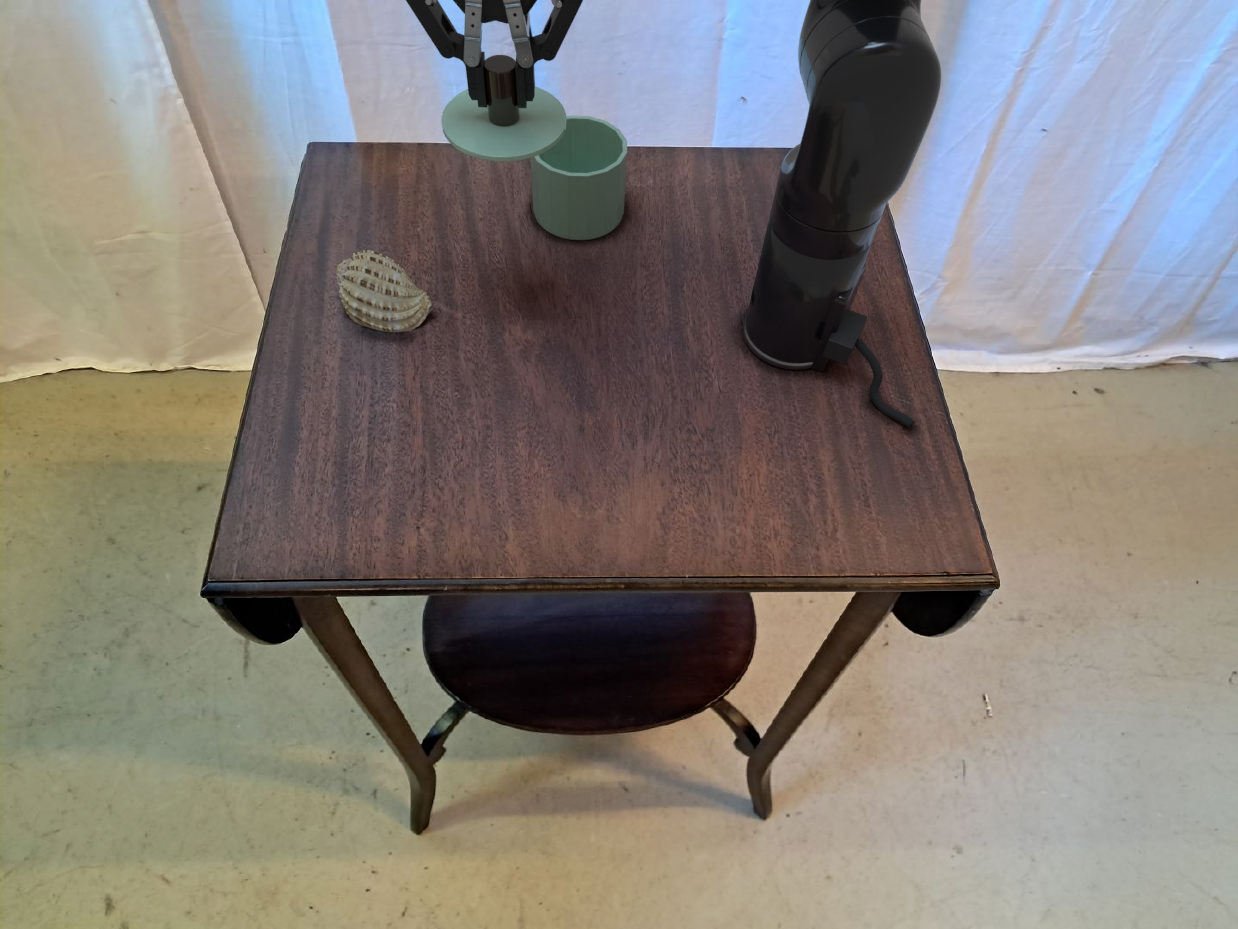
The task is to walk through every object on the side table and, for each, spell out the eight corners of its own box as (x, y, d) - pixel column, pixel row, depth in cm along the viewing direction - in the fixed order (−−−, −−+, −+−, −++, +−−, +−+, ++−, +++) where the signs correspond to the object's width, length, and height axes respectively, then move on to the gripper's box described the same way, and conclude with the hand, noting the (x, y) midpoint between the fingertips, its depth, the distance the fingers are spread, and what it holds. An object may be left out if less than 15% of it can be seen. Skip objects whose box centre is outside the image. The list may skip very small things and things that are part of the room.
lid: (567, 93, 78) (566, 28, 73) (566, 169, 72) (565, 103, 67) (448, 91, 77) (439, 25, 72) (437, 167, 71) (427, 101, 66)
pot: (622, 181, 101) (626, 116, 94) (624, 241, 96) (628, 176, 89) (535, 179, 101) (532, 114, 94) (531, 239, 95) (528, 174, 88)
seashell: (431, 304, 93) (338, 262, 90) (449, 268, 88) (352, 223, 85) (411, 358, 89) (313, 317, 85) (429, 324, 84) (326, 279, 81)
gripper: (369, -112, 56) (412, 128, 70) (590, -106, 56) (588, 131, 71) (384, -163, 60) (422, 74, 74) (589, -156, 60) (588, 77, 75)
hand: (503, 101), depth 72 cm, fingers closed on lid, 2 cm apart
